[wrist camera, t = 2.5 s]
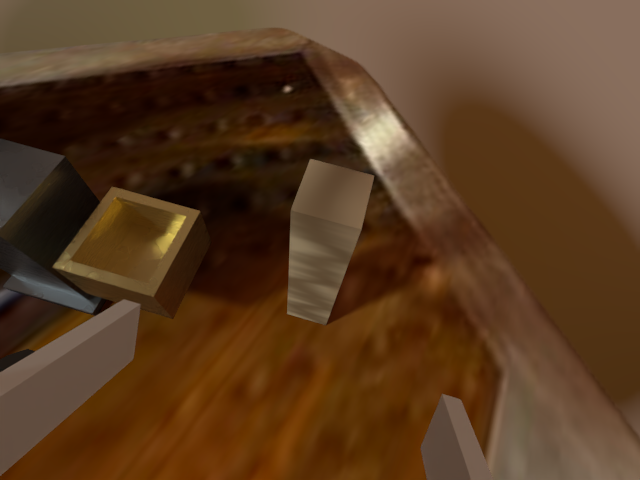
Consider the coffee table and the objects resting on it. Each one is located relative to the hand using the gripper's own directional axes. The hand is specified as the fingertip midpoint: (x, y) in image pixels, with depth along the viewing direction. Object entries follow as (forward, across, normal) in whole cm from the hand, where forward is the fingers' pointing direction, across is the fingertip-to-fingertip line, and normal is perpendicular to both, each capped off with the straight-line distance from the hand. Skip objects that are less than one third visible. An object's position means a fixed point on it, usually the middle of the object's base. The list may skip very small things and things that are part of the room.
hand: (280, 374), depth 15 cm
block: (+20, 0, -6) cm, 21 cm away
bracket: (+18, -19, -8) cm, 28 cm away
